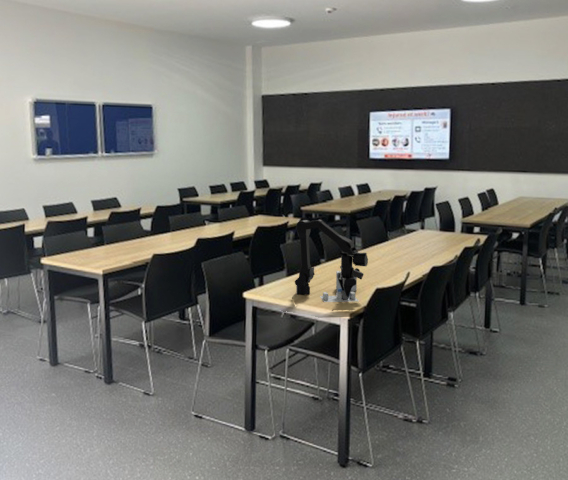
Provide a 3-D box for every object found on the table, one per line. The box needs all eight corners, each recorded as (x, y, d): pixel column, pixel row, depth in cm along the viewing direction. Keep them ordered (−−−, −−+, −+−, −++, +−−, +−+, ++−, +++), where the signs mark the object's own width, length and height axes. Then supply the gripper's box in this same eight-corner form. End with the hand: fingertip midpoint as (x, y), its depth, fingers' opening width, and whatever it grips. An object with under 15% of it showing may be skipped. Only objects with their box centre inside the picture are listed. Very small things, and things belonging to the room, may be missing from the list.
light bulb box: (354, 289, 328) (355, 270, 327) (356, 292, 322) (357, 273, 320) (335, 289, 328) (335, 270, 326) (337, 292, 321) (337, 273, 320)
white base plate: (323, 303, 298) (323, 294, 298) (319, 297, 310) (319, 288, 309) (359, 303, 300) (359, 293, 300) (353, 297, 312) (353, 287, 311)
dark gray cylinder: (350, 298, 303) (347, 292, 302) (343, 301, 302) (341, 294, 302) (347, 295, 309) (345, 289, 308) (341, 298, 308) (339, 292, 308)
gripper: (366, 268, 294) (366, 299, 296) (357, 261, 313) (357, 290, 315) (344, 268, 293) (344, 299, 295) (336, 261, 311) (336, 291, 314)
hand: (346, 295), depth 305 cm, fingers open, 8 cm apart
